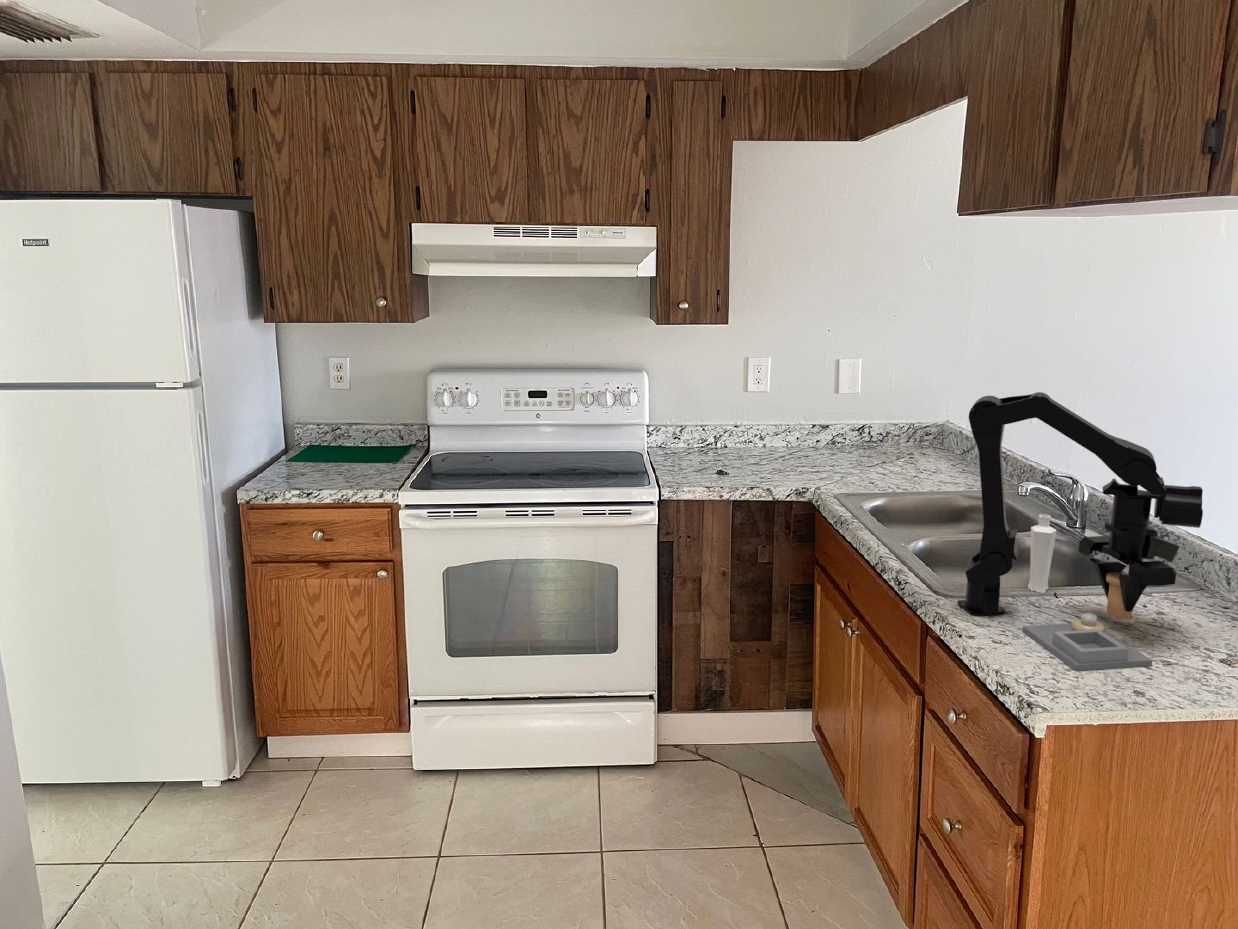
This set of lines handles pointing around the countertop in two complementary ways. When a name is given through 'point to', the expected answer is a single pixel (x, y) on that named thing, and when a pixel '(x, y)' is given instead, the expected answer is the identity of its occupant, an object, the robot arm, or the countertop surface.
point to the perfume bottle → (1041, 553)
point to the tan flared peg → (1116, 597)
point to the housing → (1086, 645)
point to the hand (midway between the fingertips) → (1119, 606)
